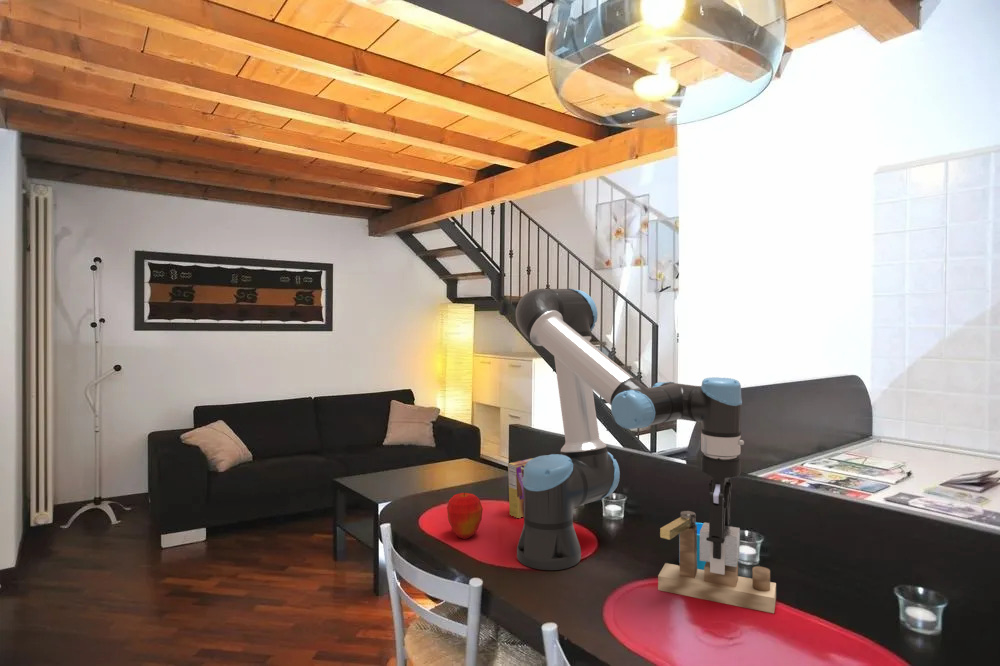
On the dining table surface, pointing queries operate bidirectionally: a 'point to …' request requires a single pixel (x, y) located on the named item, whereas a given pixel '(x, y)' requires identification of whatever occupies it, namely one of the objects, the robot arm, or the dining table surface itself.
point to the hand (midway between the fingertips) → (719, 566)
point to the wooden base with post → (716, 580)
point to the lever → (678, 525)
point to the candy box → (516, 488)
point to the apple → (464, 514)
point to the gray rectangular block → (730, 544)
